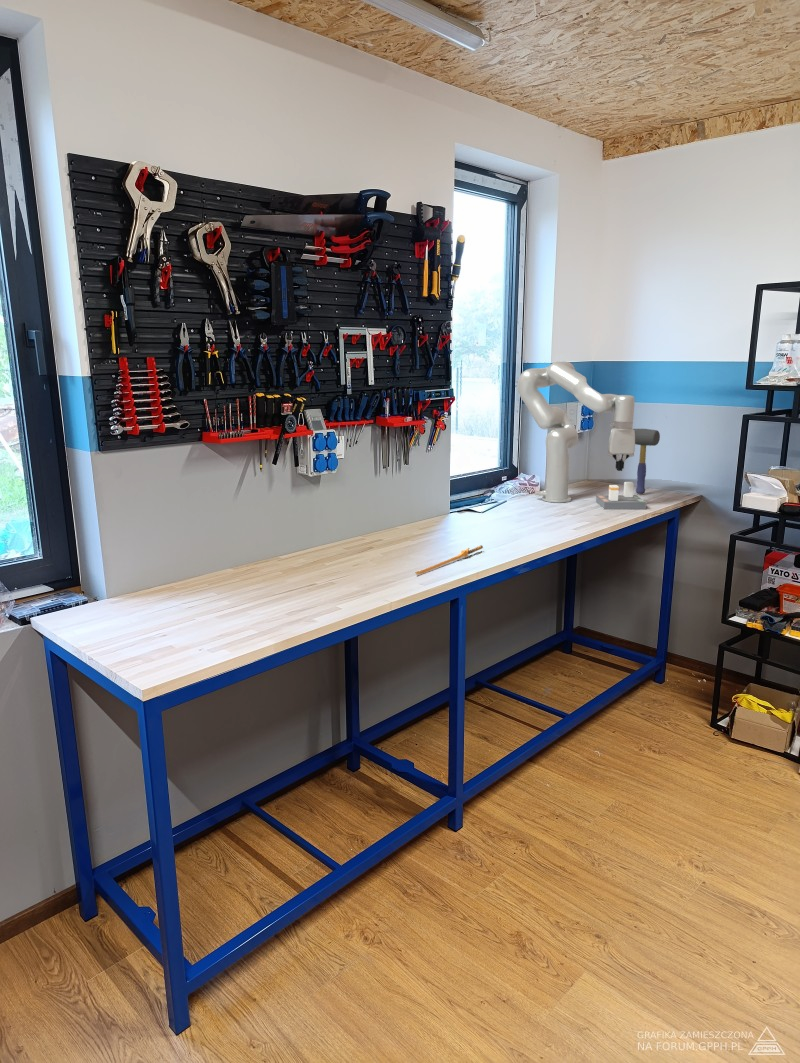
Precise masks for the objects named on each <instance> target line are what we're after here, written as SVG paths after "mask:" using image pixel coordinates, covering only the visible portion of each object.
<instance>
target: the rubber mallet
mask: <svg viewBox="0 0 800 1063" xmlns="http://www.w3.org/2000/svg"><path fill="white" fill-rule="evenodd" d="M632 429H633V430H634V431H635V446H636V445H637V446H638V445H639V446H640V449H639V460H638V461H639V462H638V465H637V472H636V475H637V479H636V480H637V481H636V482H637V483H636V489H635V493H636V495H638V494H639V496H641V495H642V496H643V495H644V494H645V492H646V488H645V487H646V486H645V485H646V476H647V463H646V457H647V456H646V455H647V446H649V447H651V446H657V445H658V444H659V442H660V438H661V434H660V432H659V430H657V429H649V428H632Z"/></svg>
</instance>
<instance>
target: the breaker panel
mask: <svg viewBox="0 0 800 1063" xmlns="http://www.w3.org/2000/svg"><path fill="white" fill-rule="evenodd" d="M634 485H635V484H634V482H632V481H624V482H623V494H618V501H610V500H609V494H605V495H604V494H603V495H602V494H597V495H596V498H595V499H596V500H595V503H596V504H598V506H600V507H601V508H602V507H603V508H604V509H603V508H602V509H603V510H646V509H647V501H646V500H643V499H642V498H641V497H639V496H638V494H636V495H635V494H634Z"/></svg>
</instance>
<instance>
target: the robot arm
mask: <svg viewBox="0 0 800 1063" xmlns="http://www.w3.org/2000/svg"><path fill="white" fill-rule="evenodd" d="M555 385H558V386H560V387H561V388H563V389H564V390H566V391H567V392H569V393H571V395H574V397H575V398H576V400H578V402H579V403H581V404H582V405H583V406H585V407H587V408H588V409H589V410H591V411H593V412H595V413H598V414H605V413H613V421H612V422H610V423H609V427H612V428H611V430H610V434H609V439H608V444H607V445H608V446H607V454H606V455H607V456H608V457H611V458H613V459H614V460H615V469H616V471H618V472H622V471H623V469H624V468H625V467H624V466H625V462H626V461H627V460H628V458H632V457H635V452H636V444H635V431H634V430H633V429H634V428H633V424H634V412H635V402H636V401H635V396H633V395H629V394H619V395H618V394H615V393H600V392H598V391H597V390H595V389H594V388H593V387H591V386H590V385H589V384H588V382H587V377H586V376H584V375H583V374H581V373H579V371H577V370H576V369H575V366H574V365H573V363H571V362H569V361H555V362H552V363H551V364H550V365H549V366H546V367H538V368H537V367H536V368H535V367H534V368H527V369H526V370H524V371H523V372H521V373H520V375H519V377H518V381H517V386H516V387H517V393H518V394H519V397H520V399H521V400H522V402H523V404H525V406H526V408H527V409H528V411H529V413H530V414H531V417H532V418H533V420H534V421H535V423H536V425H537V426H538V427H539V428H540V429H542V430H550V431H549V432H548V433H547V435H546V437H545V448H546V477H545V478H546V479H545V480H546V482H545V488H544V490H542V491H540V490H535V491H534V496H538V497H541V496H542V497H541V499H542V501H543V502H547V503H568V502H571V501H572V497H571V496H568V495H569V476H570V475H569V473H570V455H569V449H571V448H573V447H575V446H576V445H577V444H578V441H579V434H578V431H577V429H576V428H575V425H574V424H573V423H572V422H571V419H570V418H569V416H568V415H567V414H566V412H565V411H564V409H562V408H560V407H559V406H551V405H550V404H549V403H548V401H547V399H546V398H545V396H544V395H543V394H542V393H541V392H540V391H539V389H541V388H546V387H551V386H555ZM620 455H621V456H620Z"/></svg>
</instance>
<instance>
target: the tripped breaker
mask: <svg viewBox="0 0 800 1063" xmlns="http://www.w3.org/2000/svg"><path fill="white" fill-rule="evenodd" d="M619 489H620V487H619V485H617V484H609V485H608V495H609V500H610V501H618V495H619Z"/></svg>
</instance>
